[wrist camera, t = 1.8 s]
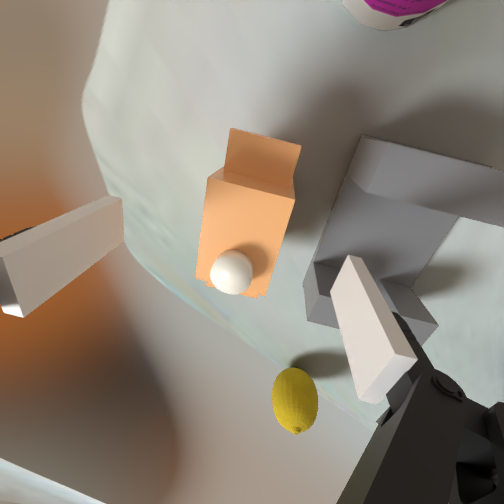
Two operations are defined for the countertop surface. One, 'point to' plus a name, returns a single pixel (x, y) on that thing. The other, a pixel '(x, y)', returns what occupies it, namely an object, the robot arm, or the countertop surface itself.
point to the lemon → (295, 400)
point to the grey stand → (398, 223)
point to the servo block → (247, 213)
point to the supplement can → (391, 12)
